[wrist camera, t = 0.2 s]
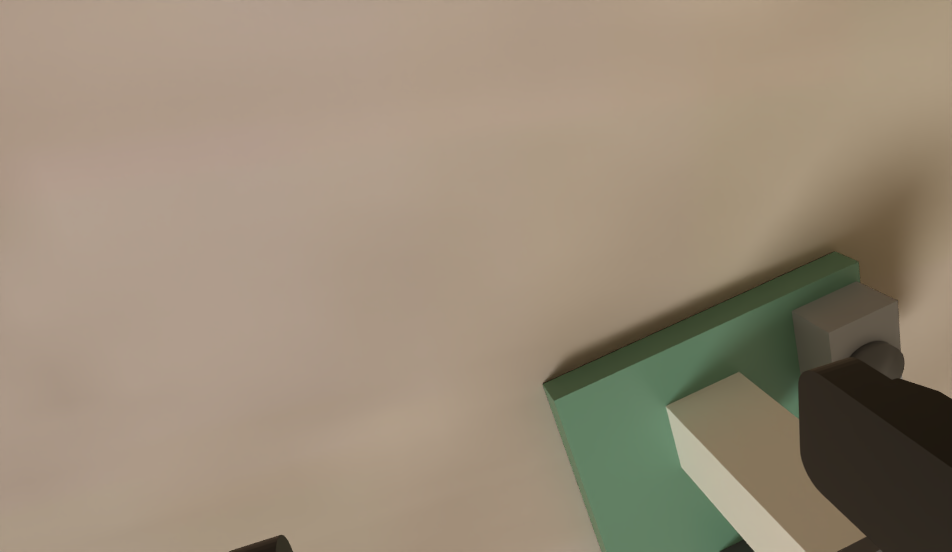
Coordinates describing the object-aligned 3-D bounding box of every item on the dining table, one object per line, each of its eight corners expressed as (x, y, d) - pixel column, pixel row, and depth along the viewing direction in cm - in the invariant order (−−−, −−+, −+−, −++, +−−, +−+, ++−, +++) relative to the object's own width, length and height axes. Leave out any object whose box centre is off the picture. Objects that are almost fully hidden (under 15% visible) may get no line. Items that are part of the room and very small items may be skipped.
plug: (665, 406, 32) (828, 575, 22) (738, 371, 32) (930, 523, 22) (681, 467, 33) (839, 649, 24) (750, 433, 34) (933, 599, 24)
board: (542, 384, 31) (580, 439, 27) (834, 251, 33) (912, 285, 29) (641, 665, 40) (680, 737, 36) (865, 550, 42) (926, 608, 38)
